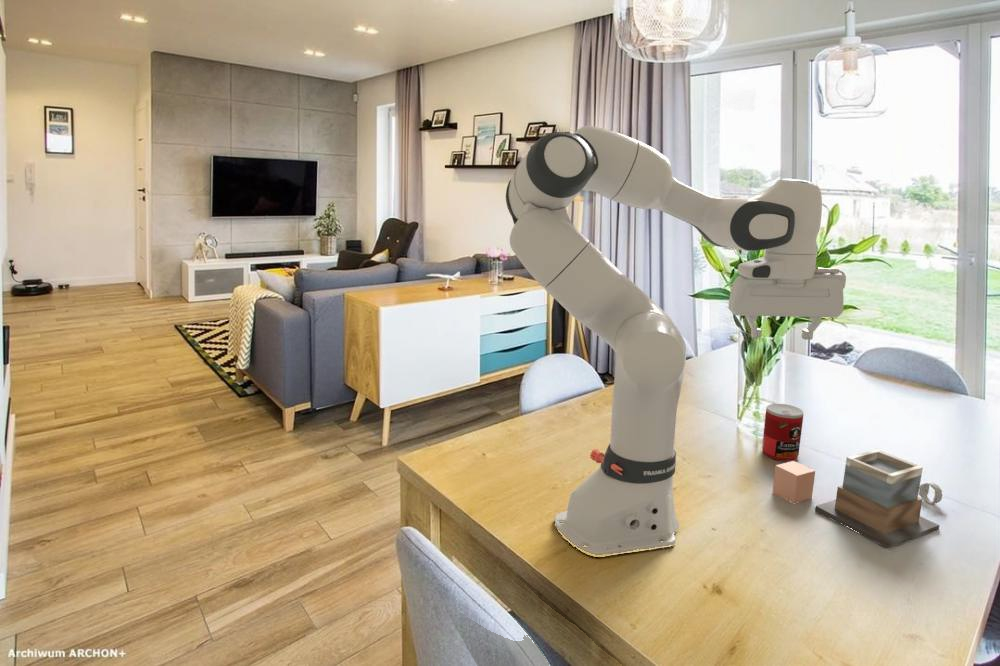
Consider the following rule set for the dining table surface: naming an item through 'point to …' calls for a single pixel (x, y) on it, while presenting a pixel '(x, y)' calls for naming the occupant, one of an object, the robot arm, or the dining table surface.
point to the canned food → (782, 432)
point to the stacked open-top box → (880, 499)
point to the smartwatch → (925, 489)
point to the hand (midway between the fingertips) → (781, 338)
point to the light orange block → (793, 481)
